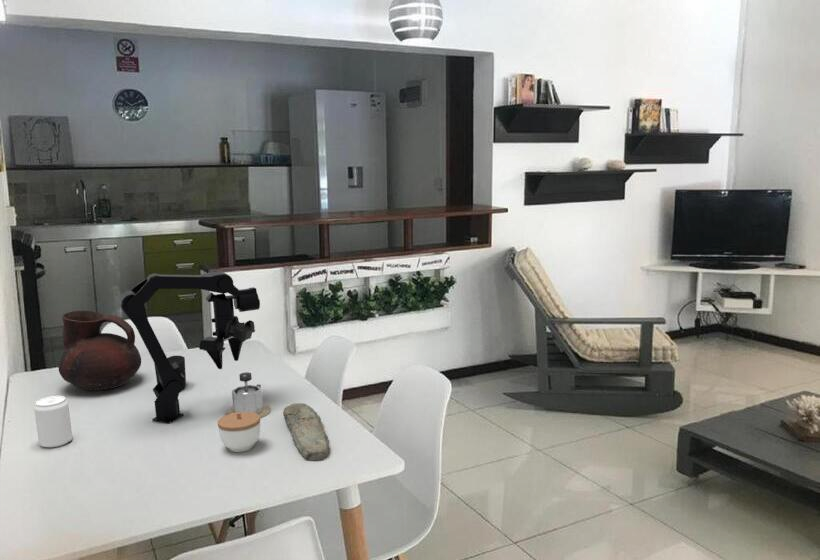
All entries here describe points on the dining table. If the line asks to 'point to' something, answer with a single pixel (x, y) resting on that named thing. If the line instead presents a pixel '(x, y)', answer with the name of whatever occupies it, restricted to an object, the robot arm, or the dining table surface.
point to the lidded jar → (239, 430)
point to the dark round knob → (245, 378)
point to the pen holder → (179, 361)
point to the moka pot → (249, 402)
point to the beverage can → (53, 421)
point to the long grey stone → (307, 431)
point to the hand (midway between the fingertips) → (228, 364)
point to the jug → (97, 352)
